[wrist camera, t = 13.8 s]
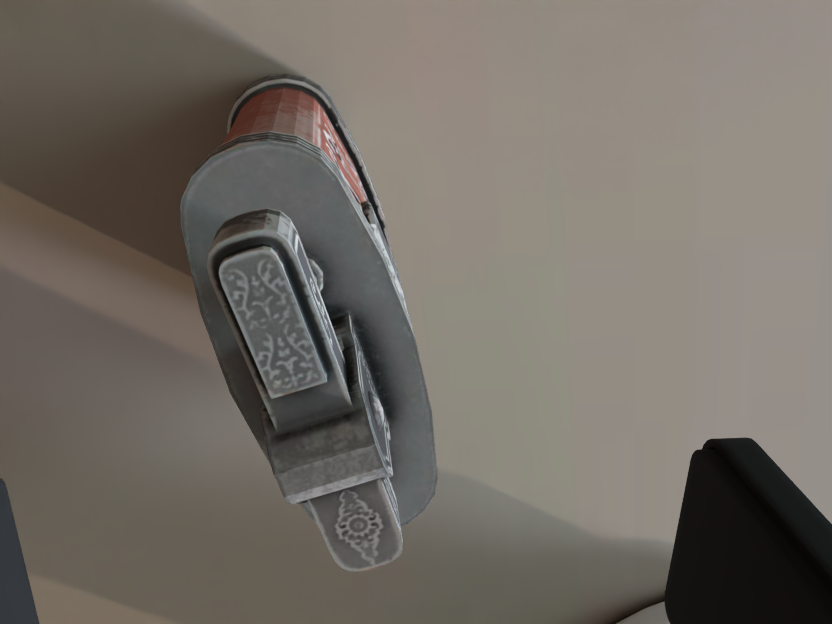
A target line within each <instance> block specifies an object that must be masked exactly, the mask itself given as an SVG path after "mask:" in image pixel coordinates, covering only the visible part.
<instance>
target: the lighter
mask: <svg viewBox="0 0 832 624" xmlns="http://www.w3.org/2000/svg"><path fill="white" fill-rule="evenodd" d="M181 229H182V234H183V238H184V242H185V247H186V251H187V255H188V260H189V264H190V269H191V273H192V277H193V282H194V286H195V291H196V295H197V299H198V304H199V308H200V312H201V315H202V318H203V321H204V323H205V326H206V329H207V331H208V334H209V337H210V340H211V342H212V345H213V348H214V350H215V353H216V356H217V359H218V361H219V364H220V367H221V369H222V372H223V375H224V377H225V380H226V383H227V386H228V388H229V391H230V393H231V395H232V397H233V399H234V401H235V402H236V404H237V406H238V408H239V409H240V411H241V413H242V415H243V417H244V418H245V420H246V422H247V424H248V426H249V427H250V429H251V431H252V433H253V434H254V436H255V438H256V440H257V442H258V443H259V445H260V447H261V449H262V451H263V452H264V454H265V456H266V458H267V460H268V461H269V463H270V464H271V467H272V470H273V473H274V476H275V478H276V480H277V483H278V485H279V487H280V489H281V491H282V494H283V496H284V498H285V499H286V500H287V501H288V503H289V504H295V503H297V504H301V505H302V507H303V508H304V509H305V511H306V512H307V513H308V515H309V516H310V517H311V518H312V519H313V520H314V521H316V522H317V524H318V526H319V529H320V531H321V533H322V535H323V538H324V540H325V542H326V545H327V547H328V549H329V551H330V554H331V556H332V558H333V559H334V561H335V562H336V564H337V565H338V566H339V567H341V568H342V569H344V570H346V571H352V572H360V571H365V570H370V569H374V568H377V567H380V566H383V565H385V564H388V563H390V562H392V561H394V560H395V559H396V558H397V557H398V556H399V555H400V554H401V551H402V548H403V541H402V534H401V526H403V525H405V524H408V523H409V522H410V521H412V520H413V519H414V518H415V517H417V516H418V515H419V514H420V513H422V512H423V511H424V510H425V509H426V507H427V506H428V504H429V503H430V501H431V500H432V498H433V497H434V495H435V490H436V485H437V479H438V478H437V466H436V454H435V442H434V431H433V419H432V410H431V406H430V401H429V397H428V393H427V388H426V384H425V380H424V375H423V371H422V367H421V362H420V358H419V354H418V349H417V345H416V340H415V336H414V332H413V328H412V324H411V321H410V317H409V315H408V312H407V308H406V304H405V299H404V295H403V291H402V287H401V283H400V279H399V275H398V271H397V267H396V265H395V262H394V257H393V253H392V249H391V244H390V240H389V236H388V231H387V227H386V223H385V219H384V215H383V211H382V208H381V205H380V203H379V200H378V198H377V195H376V193H375V190H374V187H373V185H372V182H371V180H370V177H369V175H368V172H367V170H366V167H365V165H364V162H363V159H362V157H361V154H360V152H359V150H358V148H357V147H356V145H355V143H354V141H353V139H352V137H351V135H350V134H349V132H348V130H347V128H346V126H345V124H344V122H343V121H342V119H341V117H340V115H339V113H338V111H337V110H336V108H335V106H334V104H333V102H332V100H331V98H330V97H329V96H328V95H327V94H326V92H325V91H324V90H323V89H322V88H321V86H319V85H317V84H316V83H314V82H312V81H310V80H309V79H307V78H305V77H301V76H295V75H289V74H282V75H275V76H268V77H266V78H264V79H262V80H260V81H257V82H255V83H253V84H251V85H250V86H249V87H248V88H247V89H246V90H245V91H244V92H243V93H242V94H241V95H240V96H239V97H238V99H237V100H236V102H235V104H234V106H233V108H232V111H231V113H230V115H229V117H228V120H227V137H226V139H225V141H224V143H223V144H222V145H220V146H218V147H216V148H215V149H214V150H213V151H212V152H211V153H210V154H209V155H208V156H207V157H206V158H205V159H204V160H203V161H202V162H201V163H200V164H199V165H198V167H197V168H196V170H195V172H194V173H193V175H192V177H191V179H190V181H189V183H188V186H187V188H186V190H185V192H184V195H183V197H182V199H181Z"/></svg>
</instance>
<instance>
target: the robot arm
mask: <svg viewBox="0 0 832 624" xmlns="http://www.w3.org/2000/svg"><path fill="white" fill-rule="evenodd" d="M0 624H39V621H38V616H37V612H36V608H35V604H34V600H33V596H32V591H31V587H30V583H29V579H28V575H27V571H26V566H25V562H24V558H23V554H22V550H21V546H20V542H19V537H18V533H17V529H16V525H15V521H14V517H13V512H12V508H11V504H10V500H9V496H8V492H7V488H6V485H5V482H4V481H3V480H2V479H1V478H0ZM616 624H832V524H831V523H830V522H829V521H828V520H827V519H826V518H825V517H824V515H823V514H822V513H821V512H820V511H819V510H818V509H817V508H816V507H815V506H814V505H813V504H812V502H811V501H810V500H809V499H808V498H807V497H806V496H805V495H804V494H803V493H802V492H801V491H800V489H799V488H798V487H797V486H796V485H795V484H794V483H793V482H792V481H791V480H790V479H789V477H788V476H787V475H786V474H785V473H784V472H783V471H782V470H781V469H780V468H779V467H778V466H777V464H776V463H775V462H774V461H773V460H772V459H771V458H770V457H769V456H768V455H767V454H766V453H765V451H764V450H763V449H762V448H761V447H760V446H759V445H758V444H757V443H756V442H755V441H754V440H752V439H750V438H725V439H710V440H708V441H706V443H705V444H704V445H703V448H702V450H696V451H695V452H694V453H693V455H692V458H691V461H690V466H689V472H688V477H687V482H686V487H685V492H684V497H683V502H682V508H681V513H680V518H679V523H678V528H677V533H676V538H675V544H674V549H673V554H672V559H671V564H670V569H669V574H668V580H667V585H666V590H665V597H664V601H663V602H661V603H658V604H655V605H652V606H650V607H647V608H645V609H643V610H641V611H639V612H637V613H635V614H633V615H631V616H629V617H627V618H625V619H624V620H622V621H620V622H618V623H616Z"/></svg>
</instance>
